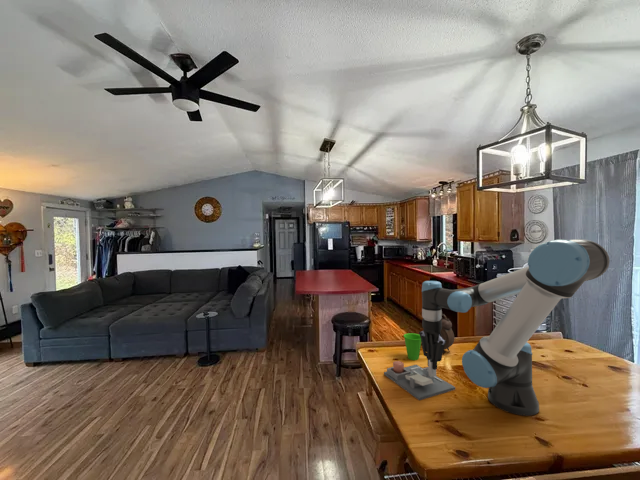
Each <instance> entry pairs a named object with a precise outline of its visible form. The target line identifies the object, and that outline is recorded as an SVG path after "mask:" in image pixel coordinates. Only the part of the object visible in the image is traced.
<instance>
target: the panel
mask: <svg viewBox="0 0 640 480" xmlns="http://www.w3.org/2000/svg"><path fill="white" fill-rule="evenodd" d="M423 368H424V367H421V366H419V365H418V364H414V365H409V366H404V373H400V374H398V373H395V372H394V371H393V366H392V367H387V368H386V371H384V372H383V375H384V376H386V377H387V378H388V379H389V380H391V381H392V382H393V383H395V385H397V386H399V387H401V388H402V389H403V390H405V391H406V392H407V393H408V394H410V395H411V396H413V398H415V399H417V400H418V401H422V400H426V399H428V398H432V397H435V396H438V395H442V394H445V393H449V392H452V391H456V386H454V385H453V384H451V383H449V382H447V381H446V380H443V379H442V378H440V377H439V376H437V375H436V376H434V378H433V379H432V381H433V383H431V384H427V385H424V386H422V385H420V384H417V383H415V381H414V379H413V378H410V380H408V379H406V378H405V375H409V374H413V373H417V374H419V375H422V376H424V377H427V376H426V375H424V374H423Z"/></svg>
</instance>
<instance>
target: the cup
mask: <svg viewBox="0 0 640 480" xmlns="http://www.w3.org/2000/svg"><path fill="white" fill-rule="evenodd" d="M403 338H404V344H405V350H406V355H407V358H408V360H410V361H418V360H419V359H420V352H421V347H422V342H421V337H420V335H419V333H415V332H413V333H412V332H410V333H409V332H408V333H404V334H403Z"/></svg>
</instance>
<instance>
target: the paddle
mask: <svg viewBox="0 0 640 480" xmlns="http://www.w3.org/2000/svg"><path fill="white" fill-rule="evenodd" d="M405 378H406V379H408V380H410V378H413V379H414V381H415V383H417V384H420V385H422V386H424V385H427V384H431V383H433V381H432V379H429V378H427V377H424V376H422V375H419V374H417V373H413V374H409V375H405Z"/></svg>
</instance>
